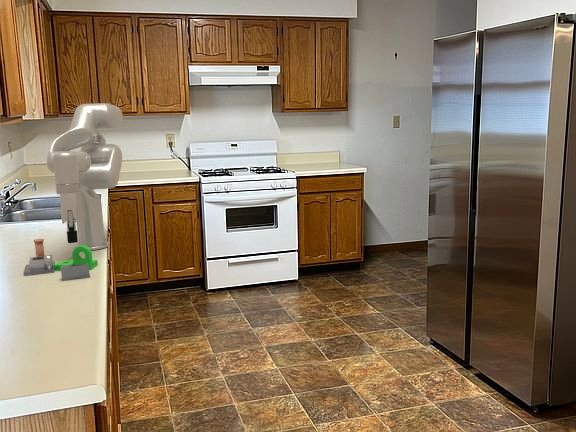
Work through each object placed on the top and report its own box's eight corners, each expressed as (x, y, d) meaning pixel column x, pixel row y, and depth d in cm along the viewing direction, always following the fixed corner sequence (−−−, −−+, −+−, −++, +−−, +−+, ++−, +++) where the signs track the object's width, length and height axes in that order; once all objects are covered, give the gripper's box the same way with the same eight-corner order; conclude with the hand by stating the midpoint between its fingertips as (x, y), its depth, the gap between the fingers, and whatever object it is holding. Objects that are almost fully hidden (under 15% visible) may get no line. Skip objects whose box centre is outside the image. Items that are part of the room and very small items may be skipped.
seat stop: (62, 278, 177) (60, 265, 176) (89, 274, 179) (88, 262, 179) (62, 280, 174) (60, 268, 173) (89, 277, 177) (88, 264, 176)
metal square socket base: (26, 268, 190) (24, 253, 189) (55, 264, 193) (53, 249, 192) (23, 275, 181) (21, 260, 180) (54, 272, 184) (52, 256, 183)
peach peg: (36, 263, 195) (33, 239, 194) (46, 262, 196) (43, 238, 195) (36, 266, 192) (33, 241, 191) (46, 265, 193) (43, 240, 192)
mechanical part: (97, 265, 191) (95, 242, 190) (90, 270, 185) (88, 246, 184) (63, 266, 192) (60, 243, 190) (54, 271, 186) (52, 247, 185)
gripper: (56, 188, 199) (61, 240, 201) (55, 191, 185) (60, 247, 187) (79, 186, 201) (84, 238, 204) (80, 190, 187) (84, 245, 190)
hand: (72, 242), depth 196 cm, fingers closed
